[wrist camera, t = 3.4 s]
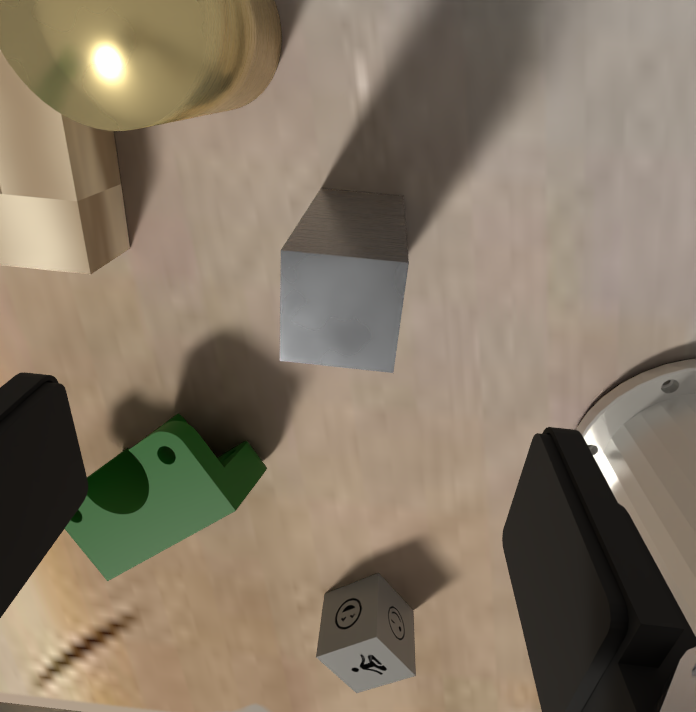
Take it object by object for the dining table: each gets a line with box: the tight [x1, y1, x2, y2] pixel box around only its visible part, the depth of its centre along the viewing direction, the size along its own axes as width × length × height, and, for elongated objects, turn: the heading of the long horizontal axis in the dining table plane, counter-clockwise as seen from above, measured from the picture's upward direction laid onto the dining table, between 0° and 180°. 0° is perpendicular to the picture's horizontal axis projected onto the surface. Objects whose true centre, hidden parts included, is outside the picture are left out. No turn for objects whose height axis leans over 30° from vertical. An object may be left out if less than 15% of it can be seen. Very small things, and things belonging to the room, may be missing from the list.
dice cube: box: [316, 573, 416, 693], centre depth 37 cm, size 5×5×5 cm
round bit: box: [0, 0, 282, 131], centre depth 17 cm, size 6×6×10 cm
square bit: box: [280, 188, 409, 373], centre depth 21 cm, size 4×4×10 cm
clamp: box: [64, 413, 267, 581], centre depth 31 cm, size 12×6×9 cm, turn 121°
